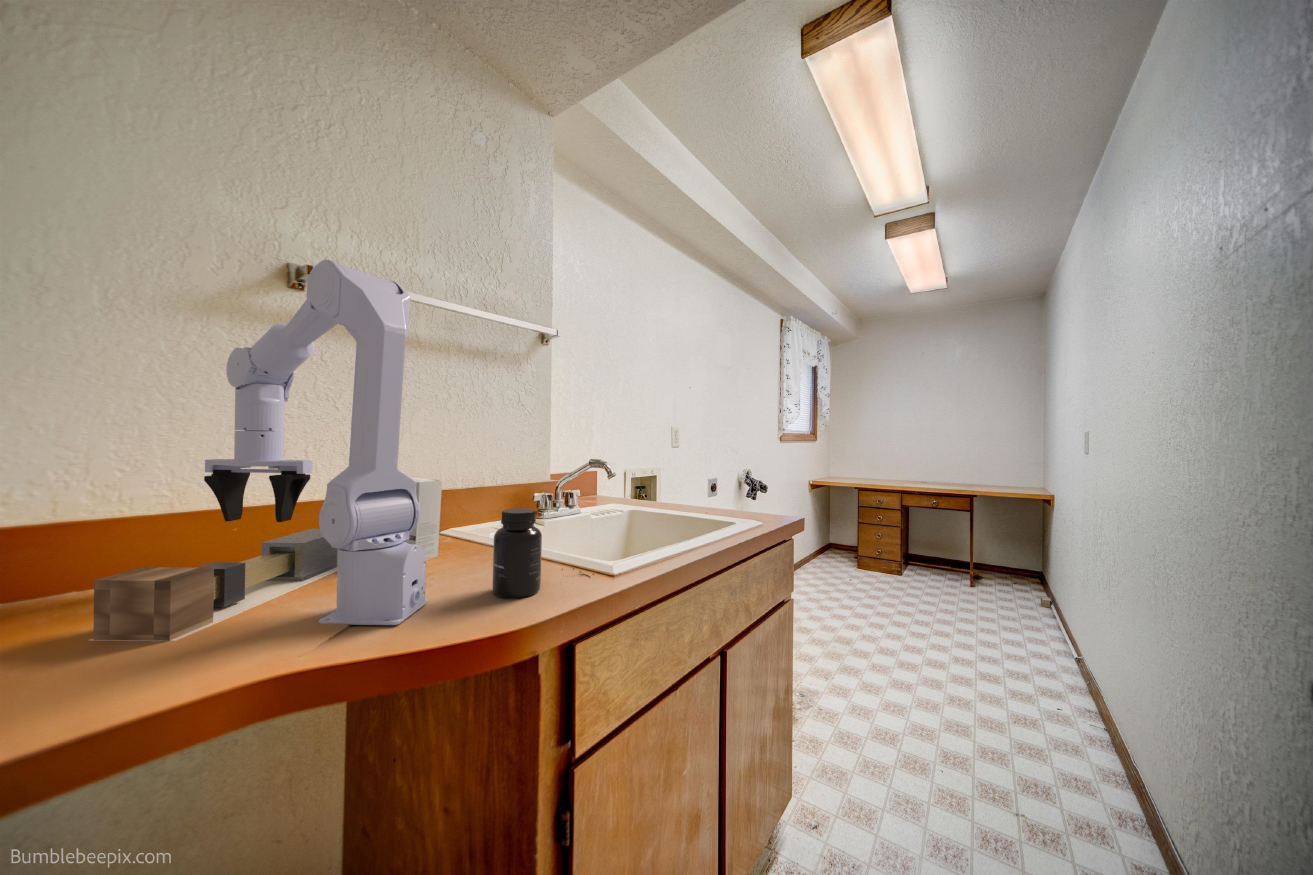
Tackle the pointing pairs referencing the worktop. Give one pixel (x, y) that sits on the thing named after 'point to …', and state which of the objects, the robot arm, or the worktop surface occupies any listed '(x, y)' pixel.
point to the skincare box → (427, 516)
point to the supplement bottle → (517, 555)
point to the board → (252, 599)
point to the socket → (153, 603)
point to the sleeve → (304, 554)
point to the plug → (247, 575)
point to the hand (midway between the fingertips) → (258, 520)
